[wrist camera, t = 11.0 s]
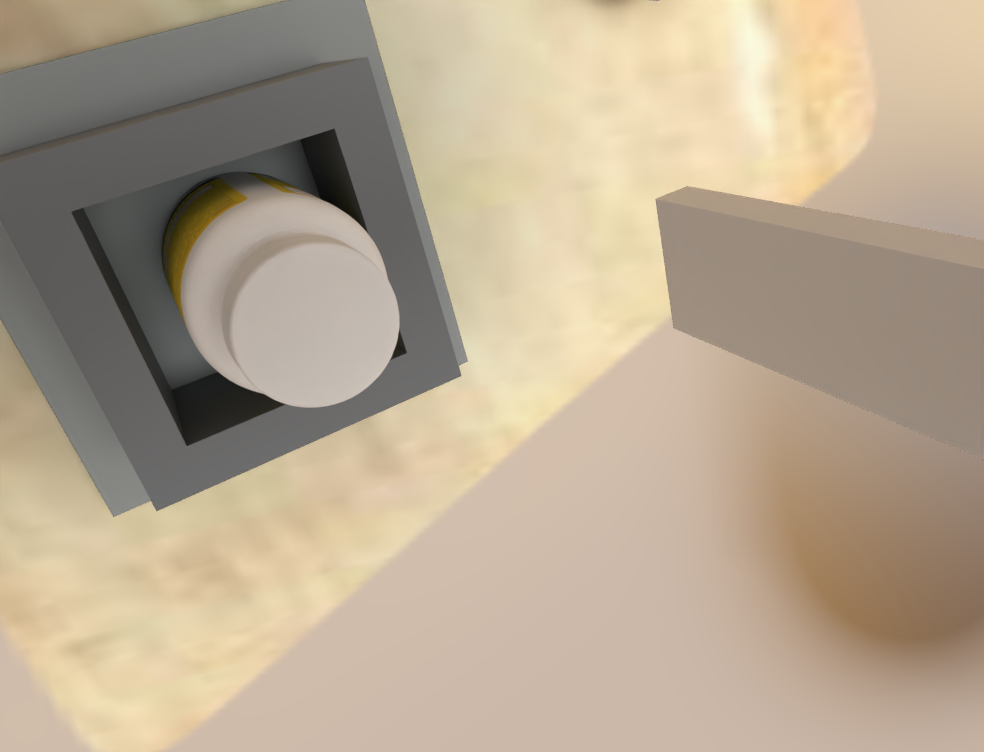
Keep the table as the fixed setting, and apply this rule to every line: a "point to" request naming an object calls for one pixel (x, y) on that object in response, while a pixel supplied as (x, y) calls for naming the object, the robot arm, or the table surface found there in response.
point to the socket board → (146, 208)
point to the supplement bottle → (280, 289)
